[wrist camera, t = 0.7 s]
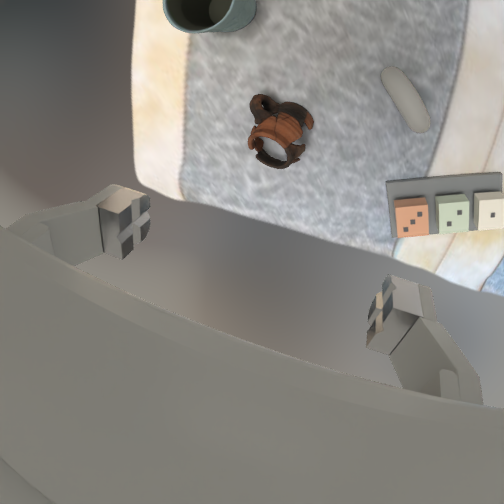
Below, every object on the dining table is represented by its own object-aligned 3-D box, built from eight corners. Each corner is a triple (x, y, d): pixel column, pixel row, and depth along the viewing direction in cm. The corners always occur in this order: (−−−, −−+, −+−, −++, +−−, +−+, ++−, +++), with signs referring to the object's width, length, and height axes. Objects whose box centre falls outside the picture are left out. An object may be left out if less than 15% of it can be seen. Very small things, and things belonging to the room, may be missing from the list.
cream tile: (473, 222, 42) (478, 231, 40) (474, 193, 40) (479, 200, 37) (499, 220, 40) (504, 228, 38) (500, 191, 38) (507, 198, 35)
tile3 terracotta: (396, 229, 48) (397, 238, 46) (393, 200, 46) (395, 208, 43) (426, 226, 46) (428, 235, 44) (424, 197, 43) (427, 205, 41)
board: (391, 234, 51) (392, 242, 49) (385, 181, 47) (386, 186, 45) (497, 225, 43) (502, 232, 41) (500, 172, 38) (505, 177, 36)
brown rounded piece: (329, 134, 46) (309, 168, 43) (287, 146, 54) (266, 177, 51) (284, 73, 40) (256, 102, 37) (244, 94, 47) (217, 123, 45)
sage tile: (436, 225, 45) (439, 234, 43) (435, 196, 43) (438, 204, 40) (464, 223, 43) (468, 231, 41) (464, 193, 40) (469, 201, 38)
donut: (373, 72, 38) (378, 74, 30) (392, 62, 36) (401, 61, 28) (408, 129, 41) (419, 145, 33) (426, 119, 39) (442, 134, 31)
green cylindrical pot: (213, -23, 35) (174, -39, 26) (272, -11, 34) (246, -30, 25) (195, 29, 41) (153, 26, 32) (251, 44, 41) (220, 40, 31)
